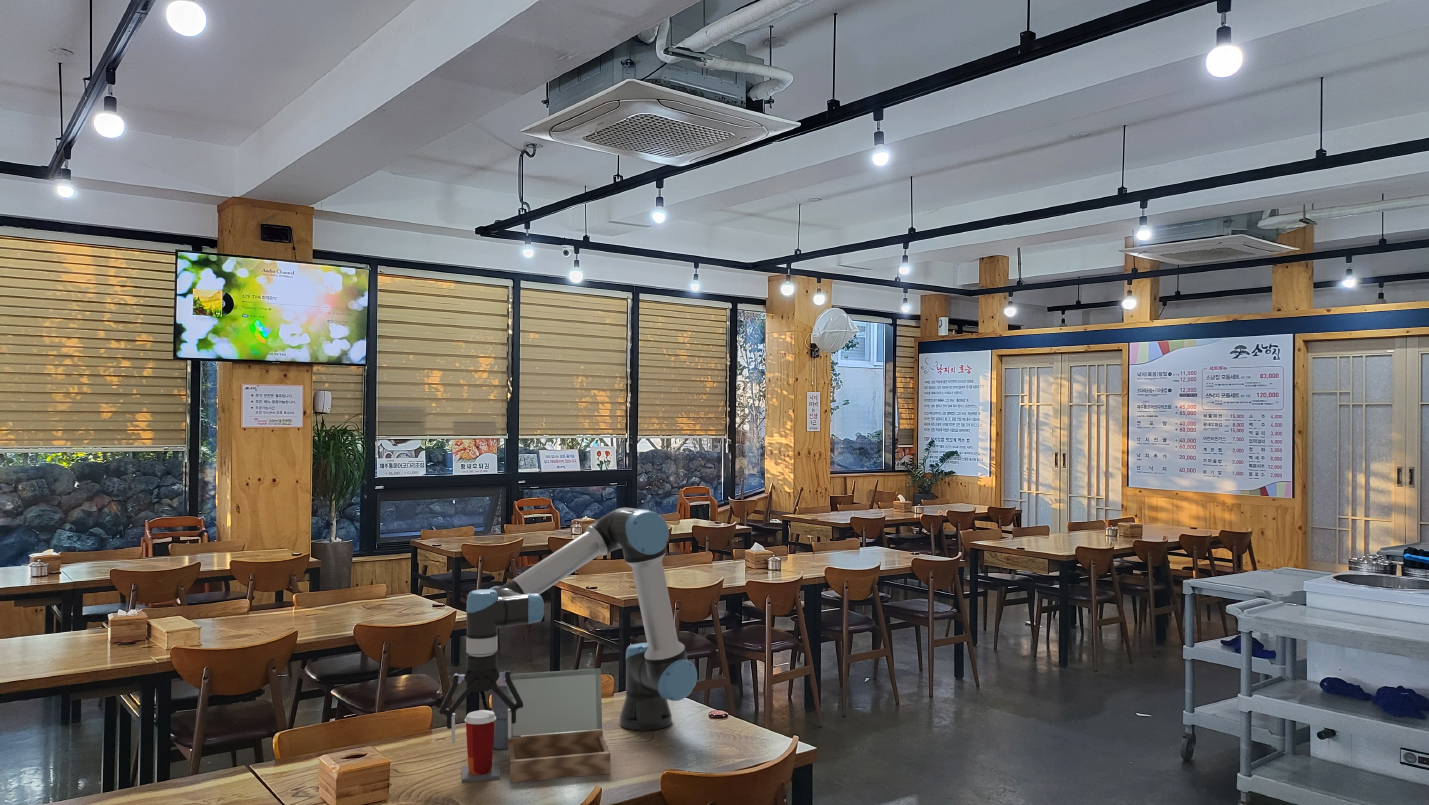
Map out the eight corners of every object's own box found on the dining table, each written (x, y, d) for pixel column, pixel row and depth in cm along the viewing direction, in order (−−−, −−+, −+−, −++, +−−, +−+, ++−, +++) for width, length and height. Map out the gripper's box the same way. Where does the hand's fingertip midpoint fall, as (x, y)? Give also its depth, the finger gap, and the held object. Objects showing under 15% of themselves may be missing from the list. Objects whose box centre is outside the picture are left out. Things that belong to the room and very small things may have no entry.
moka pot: (522, 752, 245) (523, 676, 246) (468, 748, 248) (469, 673, 249) (536, 741, 254) (537, 667, 255) (484, 737, 257) (485, 665, 258)
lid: (602, 728, 245) (601, 728, 246) (600, 668, 248) (600, 668, 249) (508, 736, 239) (507, 736, 240) (508, 674, 242) (507, 674, 243)
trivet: (499, 766, 235) (499, 763, 235) (499, 778, 226) (500, 775, 226) (462, 769, 232) (462, 766, 232) (461, 782, 224) (461, 779, 224)
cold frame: (602, 752, 244) (602, 730, 245) (610, 773, 230) (610, 749, 230) (507, 761, 238) (508, 737, 239) (510, 782, 223) (510, 757, 224)
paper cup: (502, 767, 231) (502, 711, 232) (484, 778, 224) (485, 720, 225) (475, 764, 234) (475, 708, 235) (457, 774, 227) (457, 717, 227)
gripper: (531, 646, 237) (531, 730, 236) (430, 652, 231) (429, 738, 230) (533, 653, 230) (533, 739, 229) (429, 659, 224) (428, 748, 223)
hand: (481, 739), depth 230 cm, fingers open, 13 cm apart
